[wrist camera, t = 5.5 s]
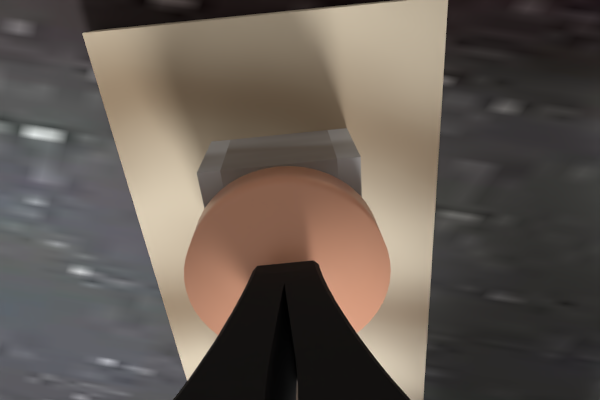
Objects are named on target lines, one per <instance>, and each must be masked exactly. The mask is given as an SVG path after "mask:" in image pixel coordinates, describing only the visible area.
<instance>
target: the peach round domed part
mask: <svg viewBox="0 0 600 400" xmlns="http://www.w3.org/2000/svg"><path fill="white" fill-rule="evenodd" d="M312 260H314V261H315V262H316V263H318V264H319V267H320V270H321V272H322V275H323V277H324V279H325V282H326V284H327V286H328V288H329V289H330V291H331V293H332V295H333V297H334V299H335V300H336V302H337V304H338V305H339V307H340V309H341V310H342V312H343V313H344V315H345V316H346V318H347V319H348V321H349V322H350V324H351V325H352V327H353V328H354V330H355V331H356V333H357V332H359V331H360V330H361V329H363V328H364V327H365V326H366V325H367V324H368V323H369V322H370V321H371V319H372V318H373V317H374V316H375V314H376V313H377V312H378V310H379V308H380V307H381V305H382V303H383V301H384V299H385V296H386V294H387V291H388V287H389V283H390V274H391V267H390V258H389V253H388V249H387V247H386V244H385V242H384V239H383V237H382V235H381V232H380V230H379V227H378V225H377V223H376V220H375V218H374V215H373V213H372V211H371V210H370V208H369V206H368V205H367V203H366V202H365V201H364V199H363V198H362V197H361V196H360V195H359V194H358V193H357V192H356V191H355V190H354V189H353V188H352V187H350V186H349V185H347V184H346V183H344V182H343V181H342V180H340V179H338V178H336V177H334V176H332V175H330V174H327V173H324V172H322V171H319V170H315V169H310V168H306V167H296V166H278V167H271V168H265V169H261V170H257V171H254V172H251V173H248V174H246V175H244V176H242V177H239V178H238V179H236V180H234V181H233V182H231V183H229V184H228V185H226V186H225V187H224V188H223V189H221V190H220V191H219V192H218V193H217V194H216V195H215V196H214V197H213V198H212V199H211V200H210V202H209V203H208V204H207V206H206V207H205V209H204V210H203V212H202V214H201V216H200V218H199V220H198V223H197V226H196V229H195V232H194V234H193V237H192V240H191V243H190V245H189V248H188V252H187V255H186V258H185V265H184V282H185V287H186V292H187V295H188V298H189V301H190V303H191V305H192V306H193V308H194V310H195V312H196V313H197V315H198V316H199V317H200V319H201V320H202V321H203V322H204V323H205V324H206V325H207V326H208V327H209V328H210V329H211V330H212V331H213V332H215V333H216V334H217V335H219V333H220V331H221V330H222V328H223V326H224V325H225V323H226V321H227V320H228V318H229V316H230V315H231V313H232V311H233V309H234V308H235V306H236V304H237V302H238V300H239V298H240V297H241V295H242V293H243V291H244V289H245V287H246V285H247V283H248V281H249V278H250V276H251V274H252V271H253V270H254V269H255V268H256V267H257V266H260V265H271V264H281V263H291V262H301V261H312Z"/></svg>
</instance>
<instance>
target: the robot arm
mask: <svg viewBox="0 0 600 400" xmlns="http://www.w3.org/2000/svg"><path fill="white" fill-rule="evenodd" d="M297 382H298V400H411V399H410V398H409V397H408V396H407V395H406V394H405V393H404V392H403V390H402V389H401V388H400V387H399V386H398V385H397V384H396V383H395V381H394V380H393V379H392V378H391V377H390V375H389V374H388V373H387V372H386V371H385V369H384V368H383V367H382V366H381V365H380V363H379V362H378V361H377V360H376V358H375V357H374V356H373V354H372V353H371V352H370V350H369V349H368V348H367V346H366V345H365V344H364V342H363V341H362V340H361V338H360V337H359V335H358V334H357V333H356V331H355V330H354V328H353V327H352V325H351V324H350V322H349V321H348V319H347V318H346V316H345V315H344V313H343V312H342V310H341V309H340V307H339V305H338V304H337V302H336V300H335V299H334V297H333V295H332V293H331V291H330V289H329V288H328V286H327V284H326V282H325V279H324V277H323V275H322V272H321V270H320V267H319V264H318V263H316V262H315V261H314V260H312V261H301V262H291V263H281V264H271V265H260V266H257V267H256V268H255V269H254V270H253V271H252V274H251V276H250V278H249V281H248V283H247V285H246V287H245V289H244V291H243V293H242V295H241V297H240V298H239V300H238V302H237V304H236V306H235V308H234V309H233V311H232V313H231V315H230V316H229V318H228V320H227V321H226V323H225V325H224V326H223V328H222V330H221V331H220V333H219V335H218V336H217V338H216V340H215V341H214V343H213V344H212V346H211V347H210V349H209V350H208V352H207V353H206V355H205V356H204V358H203V359H202V361H201V362H200V363H199V365H198V366H197V368H196V369H195V371H194V372H193V374H192V375H191V377H190V378H189V379H188V381H187V382H186V383H185V385H184V386H183V387H182V389H181V390H180V392H179V393H178V394H177V395H176V397H175V398H174V399H173V400H296V391H297Z"/></svg>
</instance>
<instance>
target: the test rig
mask: <svg viewBox="0 0 600 400" xmlns="http://www.w3.org/2000/svg"><path fill="white" fill-rule="evenodd" d="M447 10H448V0H392V1H382V2H372V3H362V4H352V5H342V6H332V7H322V8H312V9H302V10H292V11H282V12H272V13H262V14H253V15H243V16H233V17H223V18H213V19H203V20H193V21H183V22H173V23H163V24H153V25H143V26H133V27H123V28H113V29H104V30H95V31H91V32H86V33H82V34H83V37H84V41H85V44H86V47H87V50H88V54H89V57H90V60H91V64H92V67H93V70H94V74H95V77H96V80H97V84H98V87H99V90H100V94H101V97H102V100H103V103H104V107H105V110H106V113H107V117H108V120H109V123H110V127H111V130H112V133H113V137H114V140H115V143H116V147H117V150H118V153H119V156H120V160H121V163H122V166H123V170H124V173H125V176H126V180H127V183H128V186H129V190H130V193H131V196H132V200H133V203H134V206H135V209H136V213H137V216H138V219H139V223H140V226H141V229H142V233H143V236H144V239H145V243H146V246H147V249H148V253H149V256H150V259H151V263H152V266H153V269H154V272H155V276H156V279H157V282H158V286H159V289H160V292H161V296H162V299H163V302H164V306H165V309H166V312H167V316H168V319H169V322H170V325H171V329H172V332H173V335H174V339H175V342H176V345H177V349H178V352H179V355H180V359H181V362H182V365H183V369H184V372H185V375H186V378H187V381H188V379H189V378H190V377H191V375H192V374H193V372H194V371H195V369H196V368H197V366H198V365H199V363H200V362H201V361H202V359H203V358H204V356H205V355H206V353H207V352H208V350H209V349H210V347H211V346H212V344H213V343H214V341H215V340H216V338H217V336H218V335H217V334H216V333H215V332H213V331H212V330H211V329H210V328H209V327H208V326H207V325H206V324H205V323H204V322H203V321H202V320H201V319H200V317H199V316H198V315H197V313H196V312H195V310H194V308H193V306H192V305H191V303H190V301H189V298H188V295H187V292H186V287H185V282H184V265H185V258H186V255H187V252H188V248H189V245H190V243H191V240H192V237H193V234H194V232H195V229H196V226H197V223H198V220H199V218H200V216H201V214H202V212H203V210H204V209H205V207H206V206H207V204H208V203H209V202H210V200H211V199H212V198H213V197H214V196H215V195H216V194H217V193H218V192H219V191H220V190H221V189H223V188H224V187H225V186H226V185H228V184H229V183H231V182H233V181H234V180H236V179H238V178H239V177H242V176H244V175H246V174H248V173H251V172H254V171H257V170H261V169H265V168H271V167H278V166H296V167H306V168H310V169H315V170H319V171H322V172H324V173H327V174H330V175H332V176H334V177H336V178H338V179H340V180H342V181H343V182H344V183H346V184H347V185H349V186H350V187H352V188H353V189H354V190H355V191H356V192H357V193H358V194H359V195H360V196H361V197H362V198H363V199H364V201H365V202H366V203H367V205H368V206H369V208H370V210H371V211H372V213H373V215H374V218H375V220H376V223H377V225H378V227H379V230H380V232H381V235H382V237H383V239H384V242H385V244H386V247H387V249H388V253H389V258H390V267H391V274H390V283H389V287H388V291H387V294H386V296H385V299H384V301H383V303H382V305H381V307H380V308H379V310H378V312H377V313H376V314H375V316H374V317H373V318H372V319H371V321H370V322H369V323H368V324H367V325H366V326H365V327H364V328H363V329H361V330H360V331H359V332H357V334H358V335H359V337H360V338H361V340H362V341H363V342H364V344H365V345H366V346H367V348H368V349H369V350H370V352H371V353H372V354H373V356H374V357H375V358H376V360H377V361H378V362H379V363H380V365H381V366H382V367H383V368H384V369H385V371H386V372H387V373H388V374H389V375H390V377H391V378H392V379H393V380H394V381H395V383H396V384H397V385H398V386H399V387H400V388H401V389H402V390H403V392H404V393H405V394H406V395H407V396H408V397H409V398H410V399H411V400H423V397H424V381H425V365H426V348H427V332H428V316H429V300H430V284H431V268H432V252H433V236H434V220H435V203H436V187H437V171H438V155H439V139H440V123H441V107H442V91H443V74H444V58H445V42H446V26H447ZM296 400H298V382H297V391H296Z"/></svg>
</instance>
